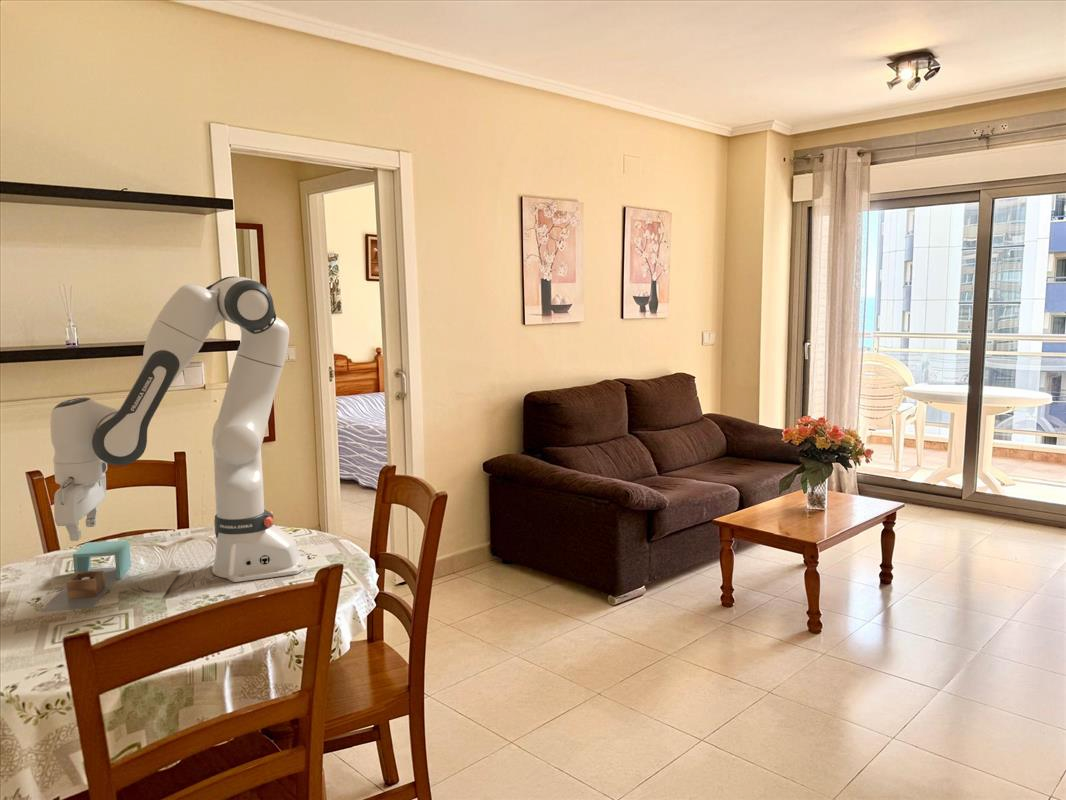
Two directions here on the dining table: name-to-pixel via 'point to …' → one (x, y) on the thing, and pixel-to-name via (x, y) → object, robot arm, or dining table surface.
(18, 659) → the dining table surface
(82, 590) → the block
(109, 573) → the housing base
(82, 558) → the cover
